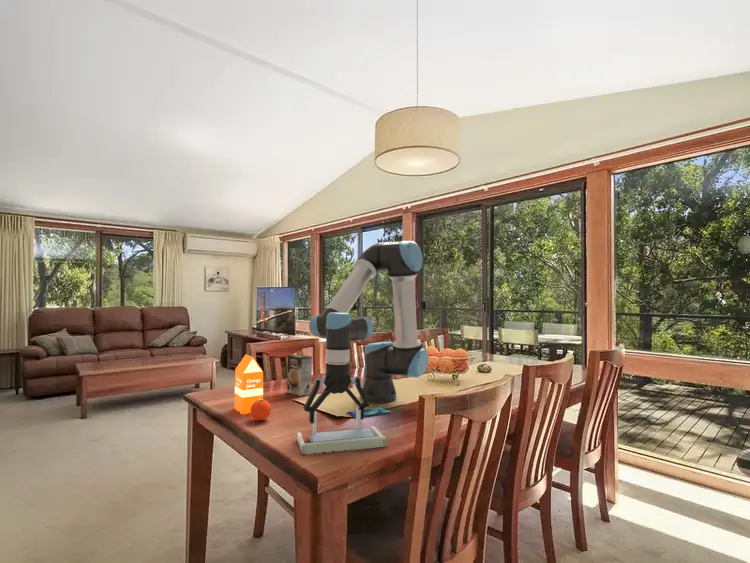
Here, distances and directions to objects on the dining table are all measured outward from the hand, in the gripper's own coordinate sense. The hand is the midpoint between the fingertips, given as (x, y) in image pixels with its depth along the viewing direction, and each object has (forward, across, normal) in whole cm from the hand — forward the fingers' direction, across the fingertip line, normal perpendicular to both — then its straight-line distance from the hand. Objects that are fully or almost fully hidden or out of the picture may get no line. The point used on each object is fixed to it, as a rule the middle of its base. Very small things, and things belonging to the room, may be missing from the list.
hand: (336, 431), depth 128 cm
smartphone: (+2, -16, -20) cm, 26 cm away
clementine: (+1, +22, -22) cm, 31 cm away
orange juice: (+2, +26, -35) cm, 44 cm away
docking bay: (+1, 0, +6) cm, 6 cm away
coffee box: (+1, +5, -56) cm, 56 cm away
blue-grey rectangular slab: (+2, -1, +5) cm, 5 cm away
